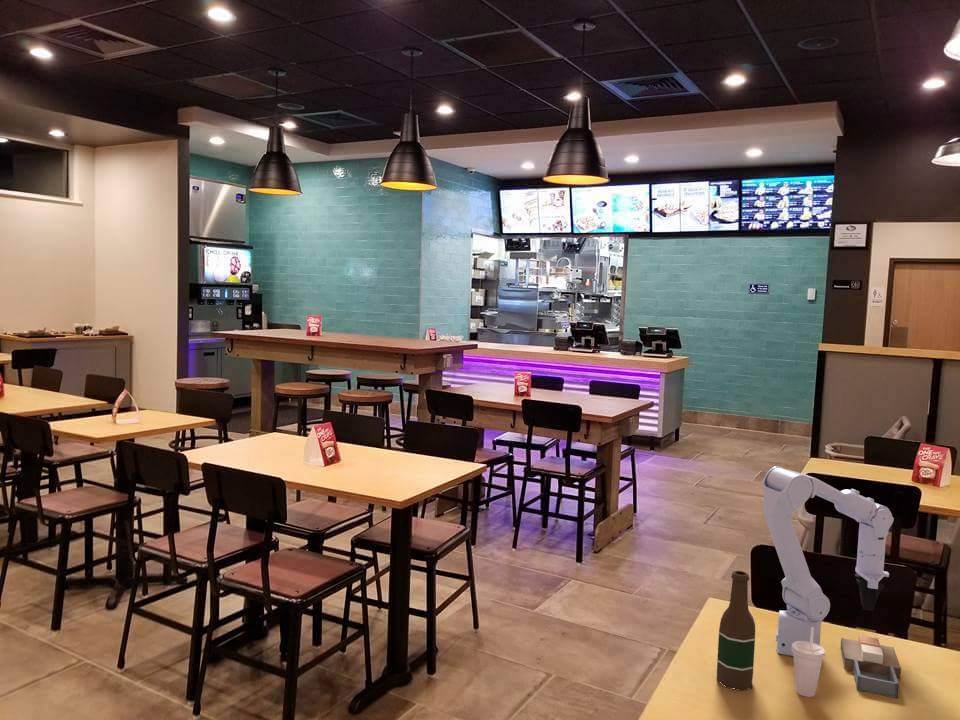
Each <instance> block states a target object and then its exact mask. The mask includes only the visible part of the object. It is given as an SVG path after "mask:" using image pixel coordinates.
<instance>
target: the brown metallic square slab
mask: <svg viewBox="0 0 960 720" xmlns="http://www.w3.org/2000/svg"><path fill="white" fill-rule="evenodd" d="M880 648H881V650H882V653H883V664H879V663H874V662H869V661H863V660H862V657H861V653H860V652H861V651H860V649H859V645H858V640H854V639H849V638H845V637H841V638H840V653H841V659H842V663H843V668H844V669H843V670H849V671H853V661H854V658H857V661H858V666H859V670H860V671H864V672H870V673H875V674H880V675H885V676H889V664H891V665H893V668H894V671H895V674H896V677H897V680H901V676H902V674H901V672H902V667H901V663H900V661H899V658H898V655H897V653H896V650H895V647H894V646H890V645H883V644H880Z"/></svg>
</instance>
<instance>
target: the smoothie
mask: <svg viewBox="0 0 960 720" xmlns="http://www.w3.org/2000/svg"><path fill="white" fill-rule="evenodd" d="M813 634H814V628H813V627H811V635H810V642H807V641H796V642H794V643H793V644H792V648H791V649H792V651H793V656H792V657H793V667H794V681H795V682H794V684H795V692H796V693H797V694H799V695H801V696H803V697H809V698H812V697H814V696H816V692H817V687H818V683H819V677H820V674H821V673H820V672H821V669H822V663H823V660H824V658H825V657H826V655H825V654H826V650H825V649H824V648H823V646H821V645H820V646H819V645H817V644H815V643H813Z"/></svg>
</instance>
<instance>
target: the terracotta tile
mask: <svg viewBox="0 0 960 720" xmlns="http://www.w3.org/2000/svg"><path fill="white" fill-rule="evenodd" d="M857 641H858V645H859V649H860V651H861V644H863V645H869V646H874V647H880V645H881V644H880V641H879V638H877V637H870V636H864V635H858V640H857Z"/></svg>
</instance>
